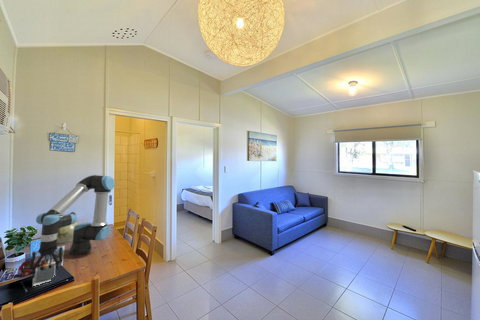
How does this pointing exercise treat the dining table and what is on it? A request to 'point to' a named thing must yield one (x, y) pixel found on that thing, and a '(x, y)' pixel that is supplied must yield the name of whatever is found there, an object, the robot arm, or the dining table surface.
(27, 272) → the toy fire truck
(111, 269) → the dining table surface
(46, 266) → the keeper
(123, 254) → the dining table surface
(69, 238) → the pitcher
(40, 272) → the link
